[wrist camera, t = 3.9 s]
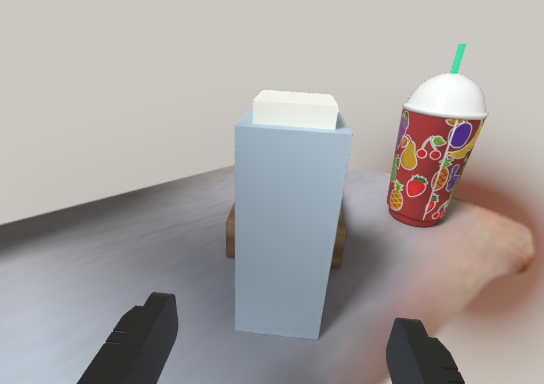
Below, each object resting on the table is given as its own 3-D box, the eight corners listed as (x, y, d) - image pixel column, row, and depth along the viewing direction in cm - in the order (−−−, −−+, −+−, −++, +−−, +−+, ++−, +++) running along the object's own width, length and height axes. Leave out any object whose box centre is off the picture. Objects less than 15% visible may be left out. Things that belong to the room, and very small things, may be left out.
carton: (317, 340, 22) (357, 110, 15) (235, 330, 22) (234, 101, 15) (314, 281, 27) (342, 93, 20) (248, 275, 27) (252, 87, 20)
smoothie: (462, 235, 35) (535, 46, 27) (392, 232, 35) (443, 40, 26) (427, 202, 43) (476, 46, 34) (370, 200, 43) (404, 42, 34)
